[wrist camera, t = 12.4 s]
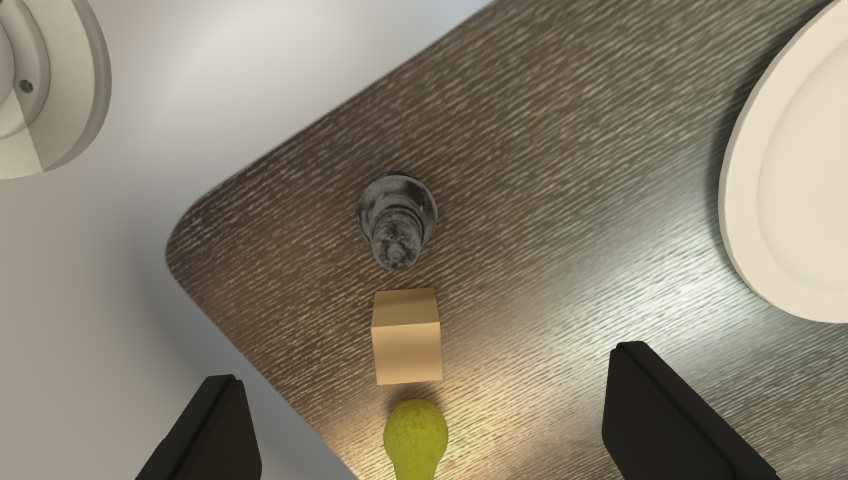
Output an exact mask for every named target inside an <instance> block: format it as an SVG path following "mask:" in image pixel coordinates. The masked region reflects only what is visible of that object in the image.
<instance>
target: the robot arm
mask: <svg viewBox="0 0 848 480" xmlns="http://www.w3.org/2000/svg"><path fill="white" fill-rule="evenodd" d="M49 82H50V69H49V59H48V55H47V50H46V46H45V42H44V40H43V38H42V35H41V33H40V30H39V28H38V25H37V24H36V22H35V20H34V19H33V17H32V15H31V14H30V12H29V10H28V9H27V7H26V6H25V4H24V3H23V2H22V1H21V0H0V139H3V138H8V137H10V136H12V135H14V134H16V133H18V132H20V131H22V130H23V129H24V128H26V127H27V126H28V125H29V124H31V123H32V122H33V121H34V119H35V118H36V117H37V115H38V114H39V113H40V111H41V110H42V107H43V105H44V103H45V100H46V98H47V95H48V88H49ZM602 439H603V442H604V445H605V447H606V449H607V450H608V452H609V454H610V455H611V457H612V459H613V460H614V462H615V464H616V465H617V467H618V469H619V470H620V472H621V474H622V475H623V477H624V479H625V480H781V479H780V478H779V477H778V476H777V475H776V471H775V470H774V469H773V468H772V467H771V466H770V465H769V464H768V463H767V462H766V461H765V460H764V459H763V458H762V457H761V456H760V455H759V454H758V453H757V452H756V451H755V450H754V449H753V448H752V447H751V446H750V445H749V444H748V443H747V442H746V441H745V440H744V439H743V438H742V437H741V436H740V435H739V434H738V433H737V432H736V431H735V430H734V429H733V428H732V427H731V426H730V425H729V424H728V423H727V422H726V421H725V420H724V419H722V418H721V417H720V416H719V415H718V414H717V413H716V412H715V411H714V410H713V409H712V408H711V407H710V406H709V405H708V404H707V403H706V402H705V401H704V400H703V399H702V398H701V397H700V396H699V395H698V394H697V393H696V392H695V391H694V390H693V389H692V388H691V387H690V386H689V385H688V384H687V383H686V382H685V381H684V380H683V379H682V378H681V377H680V376H679V375H678V374H677V373H676V372H675V371H674V370H673V369H672V368H671V367H670V366H669V365H668V364H667V363H666V362H665V361H663V360H662V359H661V358H660V357H659V356H658V355H657V354H656V353H655V352H654V351H653V350H652V349H651V348H650V347H649V346H648V345H647V344H646V343H645V342H643V341H631V342H620V343H618V344H617V346H616V349H612V350H611V352H610V359H609V368H608V377H607V387H606V396H605V405H604V414H603V423H602ZM261 473H262V462H261V458H260V453H259V449H258V445H257V440H256V436H255V432H254V427H253V423H252V419H251V415H250V410H249V406H248V402H247V397H246V393H245V388H244V384H243V382H242V380H236V378H235V376H234V375H232V374H229V375H217V376H209V377H207V378H206V379H205V380H204V381H203V383H202V385H201V386H200V387H199V389H198V390H197V392H196V393H195V395H194V396H193V398H192V399H191V401H190V402H189V404H188V405H187V407H186V408H185V410H184V411H183V412H182V414H181V416H180V417H179V418H178V420H177V421H176V423H175V424H174V426H173V427H172V429H171V430H170V432H169V433H168V435H167V436H166V438H165V439H163V440H162V442H161V443H160V444H159V445H158V446H157V448H156V449H155V451H154V452H153V454H152V455H151V457H150V458H149V460H148V461H147V462H146V464H145V465H144V467H143V468H142V470H141V472H140V473H139V474H138V476H137V477H136V479H135V480H260V478H261Z"/></svg>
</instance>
